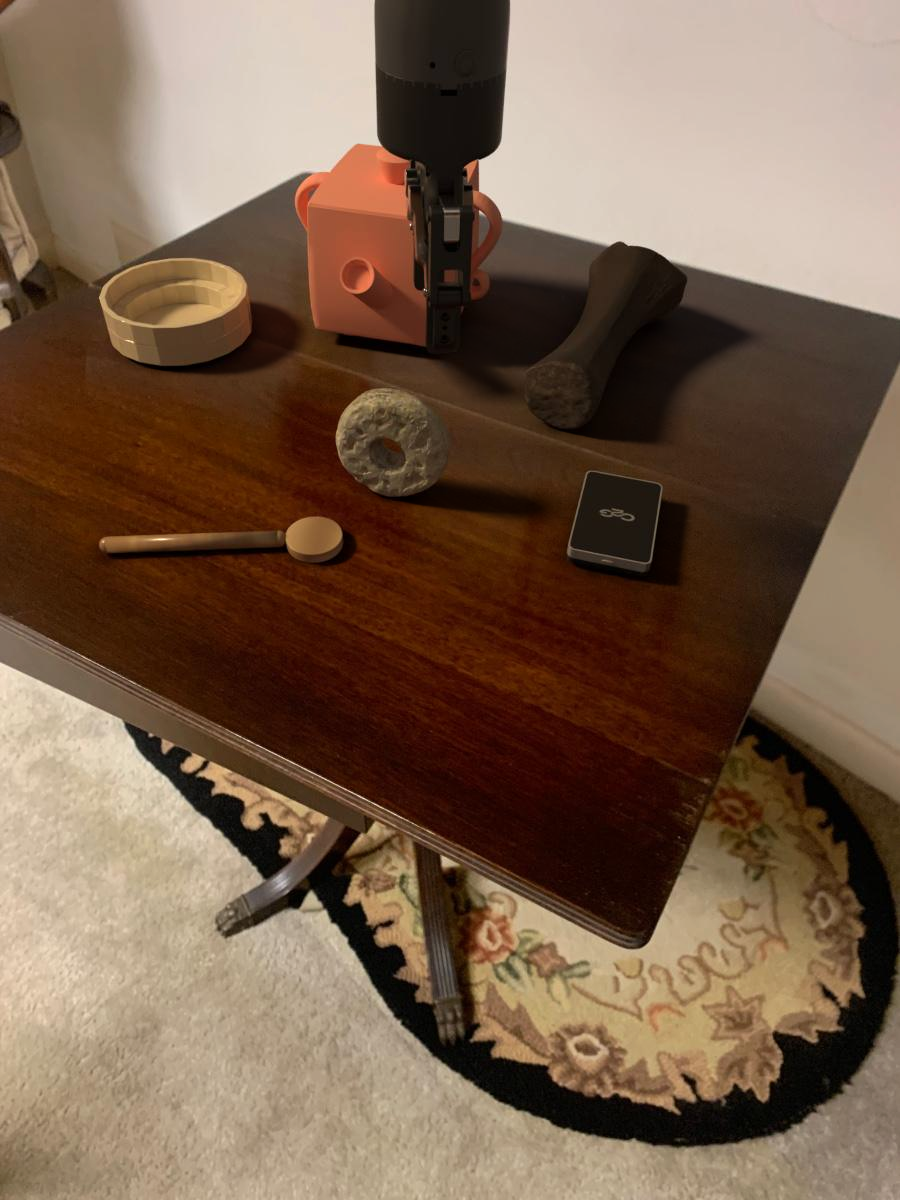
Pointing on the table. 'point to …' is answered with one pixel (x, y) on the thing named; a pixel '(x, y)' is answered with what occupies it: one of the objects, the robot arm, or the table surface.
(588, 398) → the dark brown bone
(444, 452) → the stone ring
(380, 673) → the table surface
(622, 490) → the external hard drive
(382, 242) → the teapot
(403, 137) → the robot arm
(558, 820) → the table surface
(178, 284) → the bowl
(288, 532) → the spoon
